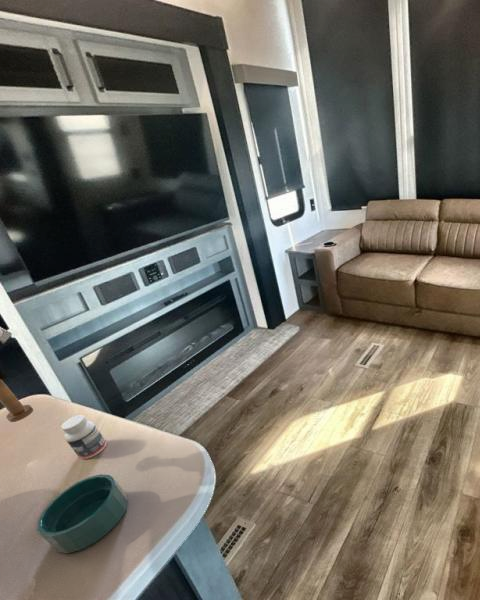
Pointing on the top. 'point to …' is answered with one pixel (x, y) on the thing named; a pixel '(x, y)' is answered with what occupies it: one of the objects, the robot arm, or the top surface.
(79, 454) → the pill bottle
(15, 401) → the wooden peg
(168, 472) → the top surface
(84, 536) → the bowl
